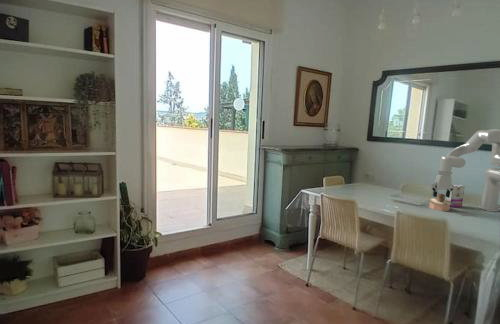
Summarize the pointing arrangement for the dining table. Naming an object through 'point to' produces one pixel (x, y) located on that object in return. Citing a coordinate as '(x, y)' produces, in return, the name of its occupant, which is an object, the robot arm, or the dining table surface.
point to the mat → (464, 213)
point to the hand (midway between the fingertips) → (441, 196)
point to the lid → (440, 200)
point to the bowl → (439, 207)
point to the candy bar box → (456, 196)
